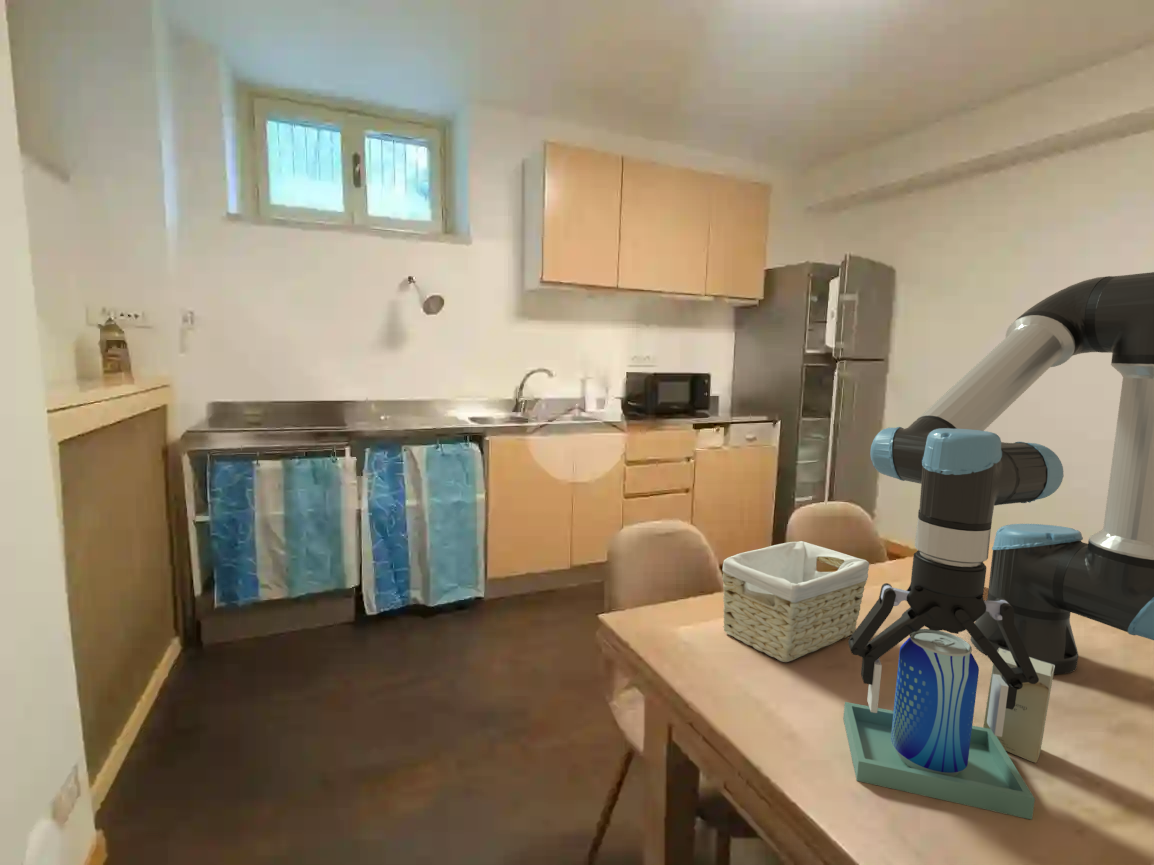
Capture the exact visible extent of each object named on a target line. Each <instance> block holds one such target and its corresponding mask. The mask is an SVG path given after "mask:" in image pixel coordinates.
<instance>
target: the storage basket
mask: <svg viewBox="0 0 1154 865" xmlns="http://www.w3.org/2000/svg"><path fill="white" fill-rule="evenodd" d="M818 561H819V562H820V563H822V564H827V565H830V566H832V567H834V568H837V570H836V571H818V570H817V565H818V563H817V562H818ZM869 567H870V562H869V561H867V560H866V559H864V558H859V557H856V556H852V555H849V554H846V553H843V552H840V551H837V550H833V549H830V548H827V547H824V546H820V545H816V544H813V543H809V542H806V541H803V540H800V541H790V542H789V541H787V542H784V543H778V544H774V545H771V546H770V545H769V546H766V547H763V548H759V549H754V550H748V551H745V552H744V551H743V552H740V553H737V554H734V555H732V556H728V557H727V558H725V559H724V560H723V564H722V573H723V574H722V582H723V584H722V586H723V587H722V588H723V626H722V627H723V631H724V632H725V633H726V634H727V635H729V636H730V637H731V636H732V637H734V638H735V639H736V640H738V641H741V642H742V643H743V644H745V645H748V646H751V647H752V648H754V649H755V650H757V651H759V652H761V653H765V654H766V655H767V656H769V657H771V658H775V659H777V660H778V661H780V662H783V663H788V662H793V661H794V660H797V659H798V658H800V657H804V656H805V655H807V654H810V653H814V652H816V651H818V650H820V649H823V648H825V647H828V646H830V645H833V644H834V643H836V642H839V641H840V640H841V639H844V638H845V639H846V638H848V637H849V636H852V635H853V633H854V632H855V630H856V629H857V628H856V627H857V625H858V624H857V623H858V622H857V620H858V617H859V615H860V611H861V604H862V603H863V600H862V599H863V596H864V595H863V593H864V591H865V586H866V584H867V581H868V578H869Z"/></svg>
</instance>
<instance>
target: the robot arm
mask: <svg viewBox="0 0 1154 865" xmlns="http://www.w3.org/2000/svg"><path fill="white" fill-rule="evenodd" d="M1089 353H1108V354H1109V353H1111V363H1110V366H1111V367H1113V368H1114V369H1115V370H1116V371H1117V372H1118V373H1119V374H1120V375H1121V376H1122V382H1121V389H1120V390H1121V391H1120V396H1119V403H1118V404H1119V406H1118V414H1117V418H1116V420H1117V421H1116V428H1115V434H1114V435H1115V437H1114V444H1113V450H1112V458H1111V465H1110V466H1111V467H1110V473H1109V475H1110V476H1109V482H1108V489H1107V496H1106V504H1105V505H1106V506H1105V510H1104V511H1105V512H1104V520H1103V528H1102V529H1101V530H1099V531H1097V532H1095V533H1093V534H1092V535H1090V536H1089V537H1088V542H1087V543H1086V542H1082V541H1083V539H1084V537H1083V536H1082V533H1081V531H1079V530H1078V529H1074V528H1071V527H1068V526H1062V525H1054V524H1053V525H1052V524H1051V525H1050V524H1043V523H1042V524H1041V523H1040V524H1038V523H1011V524H1005V525H1003V526H1001V527H999V528H998V529H997V530H996V533H995V537H994V542H993V546H992V547H991V551H992V554H991V563H990V570H989V571H990V572H989V581H988V591H987V598H986V599H985V600H984V598H983V597H984V591H985V583H986V574H987V566H986V565H985V563H984V562H986V561H987V560H988V559H989V551H990V542H991V540H990V539H991V533H992V532H991V531H992V523H993V522H992V521H993V515H994V508H995V506H1002V505H1010V504H1027V503H1032V502H1035V501H1036V500H1037V501H1038V500H1041V499H1044V498H1047V497H1049V496H1051V495H1053V494H1054V493H1055V492H1056V491H1057V490H1058V489H1059V488H1060V487H1061V485H1062V483H1063V478H1064V466H1063V464H1062V461H1061V459H1060V457H1059V456H1058V455H1057V454H1056V452H1054V451H1053V450H1052V449H1050V448H1049V447H1047V446H1045V445H1042V444H1039V443H1035V442H1024V441H1015V442H1002V440H1001V437H1000V436H999V435H998V434H997V433H995V432H992V431H988V430H987V431H986V429H987V428H988V427H990V426H991V424H993V422H995V421H996V420H997V419H998V418H999V417H1000V416H1001V415H1002V414H1003V413H1004V412H1005V411H1006V410H1007V409H1008V408H1009V407H1011V405H1013V403H1015V401H1017V399H1018V398H1020V397H1021V396H1022V395H1023V394H1024V393H1025V392H1026V391H1027V390H1028V389H1030V387H1031V386H1032V385H1033V384H1034V383H1035V382H1036V381H1037V380H1038V379H1040V378H1041V376H1043V375H1044V374H1045V373H1046V372H1047V371H1048V370H1049V369H1050V368H1054V367H1058V366H1061V365H1063V364H1065V363H1066V362H1068V361H1069V360H1070V358H1072V357H1073V356H1077V355H1080V354H1089ZM869 451H870V452H869V454H870V460H871V462H872V465H873V467H874V469H875V470H876V471H877V472H878V473H880V474H882V475H884V476H887V477H890V478H893V479H897V480H899V481H901V482H904V481H906V482H910V483H916V484H920V495H919V496H920V498H919V509H918V512H917V513H918V514H917V522H916V523H917V524H916V531H915V539H914V540H915V541H914V547H915V549H917V551H916V552H914V554H913V559H912V567H911V575H910V576H911V578H910V584H909V587H908V588H907V589H906V590H905V589H902V588H896V587H894V586H892V585H891V583H887V582H886V583H883V584H882V585H881V588H880V592H879V596H878V599H877V600H876V602H875V603H874V605H873V606H872V607H871V609H870V610H869V611H868V612H867V614H866V615H865V617H864V618H863V619H862V621H861V622H860V624H859V625H858V626H857V628H856V630H855V632H854V633H853V634H852V635H850V637H849V638H848V641H847V643H848V647H849V650H850V653H851V654H852V655H854V656H859V657H860V658H862V660H861V669H860V672H861V673H860V675H861V679H862V681H863V684H865V685H868V688H867V689H868V690H867V699H866V701H867V703H868V705H867V706H869V708H870V711H871V712H873V713H877V710H878V708H879V701H880V700H879V696H880V690H881V689H880V688H881V680H882V678H881V677H882V668H883V666H882V663H881V659H880V658H881V657H882V656H884V655H885V654H886V653H888V652H889V651H890V650H892V649H893V648H894V647H896V646H897V645H898V644H899V643H901V642H902V641H904V640H905V639H907V638H908V637H910V634H911V633H913V632H917V631H918V630H920V629H923V628H924V627H925V628H926V629H929V630H934V631H944V632H946V633H950V634H956V635H959V633H961V632H964V631H966V632H967V633H968V634H969V636H970V642H971V643H972V645H973V646H974V647H975V648H976V649H977V650H978V651H980V652H981V653H983V654H984V655H986V656H987V657H988V659H989V660H990V662H992V665H993V664H994V665H995V666H996V668H997V669H998V670H999V671H1000V673H1001V674H1002V677H1001V676H1000V675H997V674H993V676H992V684H991V692H990V700H989V708H988V716H987V724H988V725H989V727H990V729H991V730H992V732H993V733H994V735H995V736H1000V737H1002V733H1003V725H1004V718H1005V710H1006V708H1008V709H1013V708H1014V707H1015V701H1016V695H1017V690H1018V689H1021V688H1022V687H1023V684H1022V683H1026V682H1029V683H1031V684H1036V683H1037V682H1038V681H1039V678H1038V676H1037V674H1036V671H1035V669H1034V667H1033V665H1032V662H1031V660H1030V658H1029V657H1031V658H1034V659H1037V660H1040V661H1043V662H1047V663H1050V664H1053V665H1055V668H1054V674H1053V675H1063V674H1069V673H1072V672H1074V671H1076V670H1077V668H1078V662H1079V661H1078V660H1079V651H1078V648H1077V647H1078V646H1077V645H1076V644H1077V643H1076V640H1075V637H1074V633H1073V629H1072V625H1071V621H1070V620H1071V613H1073V614H1075V615H1078V616H1080V617H1083V618H1087V619H1089V620H1092V621H1095V622H1098V623H1101V624H1103V625H1107V626H1109V627H1112V628H1115V629H1117V630H1120V631H1123V632H1125V633H1128V634H1129V635H1131V636H1138V637H1140V638H1141V637H1142V638H1145V639H1148V640H1151V641H1154V271H1152V272H1145V273H1144V272H1143V273H1142V272H1141V273H1134V274H1125V275H1124V274H1123V275H1114V276H1112V275H1111V276H1110V275H1109V276H1100V277H1094V278H1090V279H1086V280H1083V281H1081V282H1077V283H1074V284H1071V285H1070V286H1067V287H1065V288H1063V289H1061V290H1059V291H1057V292H1055V293H1053V294H1051V295H1048V296H1047V297H1045V298H1044V299H1042V300H1041V301H1039V302H1037V303H1036V304H1034V305H1033V306H1031V307H1029V309H1028V308H1027V310H1025V312H1024V313H1023V314H1021V315H1020V316H1018V317H1017V318H1016V319H1015V320H1014V321H1013V322H1012V323H1011V324H1010V325H1009V326H1008V328H1007V330H1006V332H1005V338H1004V339H1003V340H1002V341H1001V342H999V344H998V345H997V346H995V348H993V349H992V350H991V351H990V352H989V353H987V355H985V357H983V358H982V359H981V360H980V361H978V363H976V365H975V366H973V368H971V369H970V370H969V371H968V372H967V373H966V374H965V375H964V376H963V377H961V378H960V379H959V380H958V381H957V382H956V383H955V384H953V386H952V387H951V388H949V389H948V391H946V392H945V393H944V394H942V396H940V397H939V398H938V399H937V400H936V401H935V402H934V403H933V404H932V405H931V406H930V407H928V408H927V410H925V411H924V412H923V413H922V414H921V415H920V416H919V417H918V418H917V419H916V420H915V421H913V422H912V423H911V424H910V425H909V426H908V427H905V428H903V427H901V426H898V427H887V428H883V429H882V430H880V431H878V433H877V434H876V435H875V437H874V438H873V440H872V443H871V445H870V450H869ZM903 601H904V602H907V604H908V606H909V608H907V609H906V610H905V611H904V612H903V613H902V614H901V616H900V617H899V618H897V619H896V620H895V621H894V622H893V623H891V624H890V625H889V626H887V627H886V628H885V629H884V630H882V631H881V632H880V633H879V634H877V635H876V636H875V637H874V635H875V634H876V633H877V632H878V630H879V629H880V628H881V627H882V625H883V624H884V622H886V619H887V618H888V617H889V616H890V614H891V613H892V611H893V609H894V607H898V606H899V605H900V604H901V602H903ZM873 637H874V638H873ZM999 648H1002V649H1005V650H1008V651H1010V652H1011V654H1012V656H1013V659H1014V661H1015V663H1016V665H1017V667H1015V668H1010V667H1009V666H1008V665H1007V663H1006V662H1005V661H1004V659H1003V658H1002V657H1001V656H1000V654H999V653H998V652H997V650H998V649H999Z"/></svg>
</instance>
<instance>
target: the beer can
mask: <svg viewBox="0 0 1154 865" xmlns="http://www.w3.org/2000/svg"><path fill="white" fill-rule="evenodd" d="M972 651H973V648H972V646H971V644H970V643H968V642H967V640H964V639H963V638H961V637H959V636H957V635H954V634H953V633H950V632H947V631H944V630H940V631H934V630H929V628H921V629H920V630H918V631H917V632H913V633H911V634H910V635H909V637H908V638H906V641H904V643H902V644H901V646H900V647H899V653H898V654H899V655H898V661H897V662H898V664H897V671H896V672H897V675H896V682H895V683H896V684H895V694H894V704H893V710H892V711H893V721H892V731H891V743H892V745H893V747H894V748H895V750H896V751H897V754H898V756H899V757H900V759H901V760H902V761H903V762H904V763H905V764H907V765H908V766H909V767H911V768H913V769H917V770H922V771H927V772H932V773H936V774H941V775H946V776H950V777H954V776H956V775H957V774H958V773H959V772H961V771H963V770H964V769H965V768H966V767H967V765H968V757H969V748H970V740H971V732H972V726H973V724H974V723H973V722H974V715H975V714H974V713H975V705H976V697H977V690H978V681H979V674H980V673H979V672H980V670H979V669H980V667H979V665H978V663H977V660H976V658H975V657H974V655H973V653H972Z"/></svg>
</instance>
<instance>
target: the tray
mask: <svg viewBox="0 0 1154 865" xmlns="http://www.w3.org/2000/svg"><path fill="white" fill-rule="evenodd" d="M843 707H844V708H843V717H842V718H843V723H844V727H845V728H844V729H845V732H846V738H847V741H848V746H849V752H850V756H851V760H852V764H853V770H854V774H855V779H856V782H861V783H865V784H870V785H875V786H879V787H883V788H888V789H893V790H896V791H902V792H906V793H910V794H915V795H919V796H924V797H929V798H933V799H936V800H937V799H938V800H942V801H946V802H951V803H954V804H955V803H956V804H959V805H965V806H969V807H972V808H973V807H974V808H979V809H983V810H987V811H991V812H995V813H1000V814H1005V815H1010V816H1014V817H1019V818H1022V819H1027V820H1031V821H1032V820H1033V816H1034V815H1033V814H1034V808H1035V800H1036V798H1035V797H1034V795H1033V793H1032V792H1031V790H1030V788H1029V787H1028V785H1027V783H1026V782H1025V780H1024V778H1023V777H1022V776H1021V774H1020V772H1019V771H1018V768H1016V766H1015V764H1014V762H1013V760H1012V759H1011V757H1010V756H1009V754H1008V752H1007V751H1005V749H1004V748H1003V746H1002V744H1001V743H1000V741H999V740H998V738H997V736H995V735H994V733H993V732H992V730H991V729H988V728H983V726H977V725H972V732H971V740H970V748H969V757H968V765H967V767H966V768H965V769H964V770H963V771H961V772H959V773H958V774H957V775H956V776H954V777H950V776H946V775H941V774H936V773H932V772H927V771H922V770H917V769H913V768H911V767H909V766H908V765H907V764H905V763H904V762H903V761H902V760H901V759H900V757H899V756H898V754H897V751H896V750H895V748H894V747H893V745H892V743H891V731H892V721H893V711H894V710H891V709H885V708H880V707H878V710H877V713H873V712H871V711H870V708H869V705H865V704H864V705H863V704H858V703H852V702H848V701H844V706H843Z"/></svg>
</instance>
